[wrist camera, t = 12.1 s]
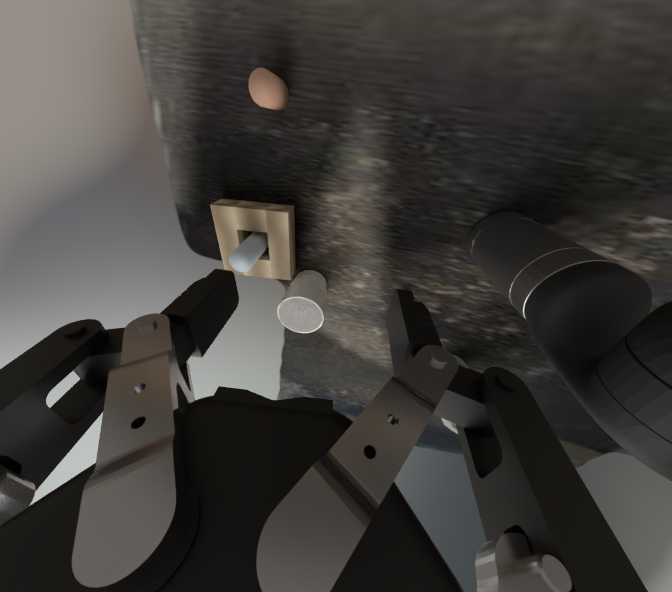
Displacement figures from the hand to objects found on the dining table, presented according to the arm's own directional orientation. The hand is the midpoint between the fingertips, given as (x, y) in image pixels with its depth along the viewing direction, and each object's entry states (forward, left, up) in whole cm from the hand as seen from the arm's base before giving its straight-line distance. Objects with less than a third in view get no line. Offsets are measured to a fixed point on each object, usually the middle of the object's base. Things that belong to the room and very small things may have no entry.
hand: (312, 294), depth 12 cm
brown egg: (+10, -10, -30) cm, 33 cm away
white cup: (+5, +19, -30) cm, 36 cm away
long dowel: (+14, +10, -30) cm, 35 cm away
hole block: (+14, +10, -30) cm, 35 cm away
